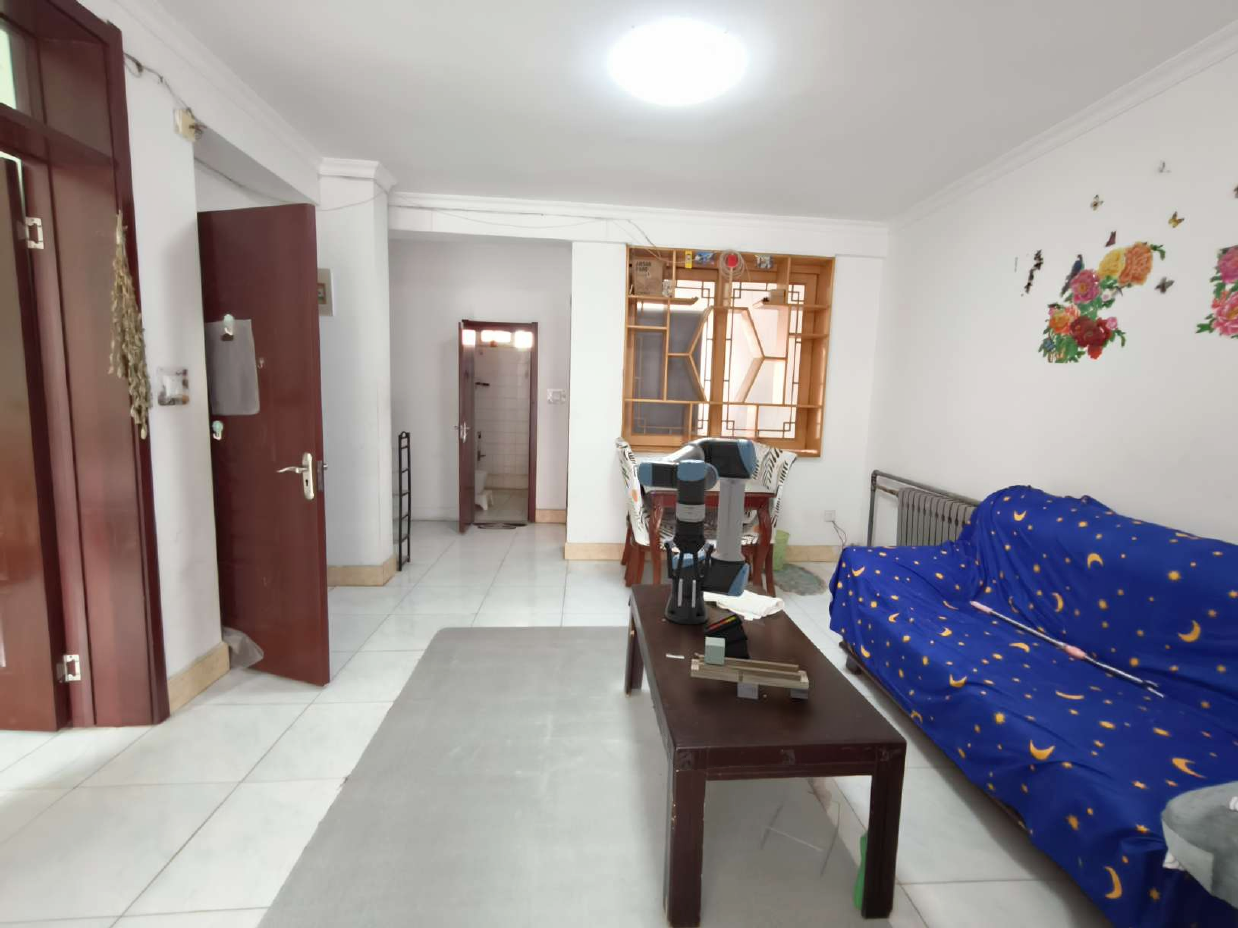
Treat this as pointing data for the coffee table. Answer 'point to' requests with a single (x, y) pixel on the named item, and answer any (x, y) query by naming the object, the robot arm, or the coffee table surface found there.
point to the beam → (753, 675)
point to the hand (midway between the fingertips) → (686, 604)
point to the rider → (714, 650)
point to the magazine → (730, 636)
